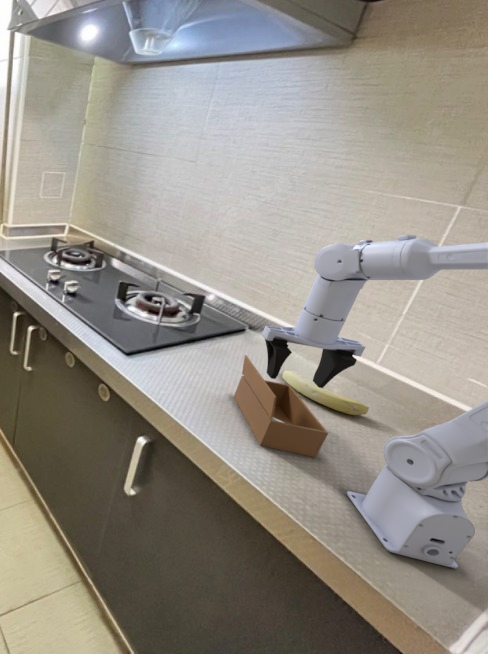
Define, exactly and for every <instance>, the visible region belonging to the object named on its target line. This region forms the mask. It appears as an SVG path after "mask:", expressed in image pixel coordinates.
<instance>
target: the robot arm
mask: <svg viewBox="0 0 488 654" xmlns="http://www.w3.org/2000/svg"><path fill="white" fill-rule="evenodd" d="M313 265H314V269H315V271H316V273H317V274H316V277H315V279H314V281H313V284H312V286H311V288H310V290H309V293H308V295H307V297H306V300H305V303H304V304H303V308H302V310H301V312H300V314H299V317H298V319H297V320H296V321H297V322H296V324H295V326H270V325H265V326H264V328H263V331H262V333H261V336H262V337H263V338H264V341H265V346H266V352H267V365H266V374H267V375H268V377H269V378H270V379H273V380H276V379H277V377H278V376H279V373H280V371H281V369H282V367H283V365H284V364H285V362H286V360H287V359H288V358H289V357H290V355H291V354H293V351H292V350H291V349H290V348H289V344H288V343H290V344H295V345H302V346H307V347H312V348H313V347H314V348H317V349H322V351H321V357H320V361H319V364H318V366H317V368H316V369H315V373H314V375H313V377H312V383H314V384H316V385H317V386H318V387H319V388H324V387H326V386H327V384H329V382H330V381H331V380H333V379H334V378H335V377H336V376H337V375H339V374H341V373H342V372H344V371H346V370H347V369H349V368H351V367H354V366H355V365H356V363H357V361H358V360H357V358H355V357H354V356H356V357H362V355H363V353H364V351H365V349H366V345H364V344H362V343H361V342H360V341H358V340H353V339H349V338H345V337H341V336H339V335H340V333H341V331H342V329H343V326H344V325H345V322H346V320H347V318H348V316H349V315H350V312H351V310H352V308H353V306H354V304H355V301H356V299H357V297H358V295H359V293H360V291H361V290H363V288H364V286H365V284H366V283H367V282H368V281H424V280H428V279H430V278H432V277H433V276H435V275H436V274H437V273H439V272H440V271H443V270H444V271H445V270H447V271H448V270H449V271H451V270H460V271H461V270H488V242H487V241H486V242H478V243H477V242H475V243H465V244H453V245H442V246H439V245H438V244H437V243H434V242H433V241H431V240H429V239H427V238H424V237H420V238H419V237H418V238H417V235H414V234H405V235H398V236H397V239H396V240H385V241H383V240H382V241H373V240H372V239H362V240H359V243H358V244H347V243H341V242H335V243H333V244H328V245H326V246H324V247H322V248H321V249H319V250H318V251H317V253H316V254H315V257H314V261H313ZM382 450H383V451H382V453H383V458H384V461H385V464H384V466H383V467H382V469H381V471H380V472H379V474H378V475H377V477H376V478H375V480H374V482H373V483H372V485H371V487H370V488H369V490H368V491H367V493H366V494H363V493H359V492H355V491H349V490H348V491H346V495H347V497H348V498H349V500H350V501H351V502H352V503H353V505H354V506H355V508H356V510H358V512H359V514H361V516H362V517H363V519H364V520H365V522H366V523H367V525H368V526H369V527H370V529H371V530H372V532H373V533H374V535H375V536H376V537H377V538H378V540H379V542H380V543H381V544H382V545H383V547H384V548H385V549H386V550H387V551H388V552H390V553H392V554H396V555H400V556H404V557H407V558H412V559H417V560H420V561H424V562H427V563H431V564H436V565H440V566H444V567H447V568H451V569H458V568H459V564H458V563H457V562H456V561H455V560H456V559H457V558H458V557H459V555H460V554H461V553H462V552H463V550H464V549H465V548H466V547H467V545H468V544H469V543H470V541H472V539H473V538H474V536H475V534H476V528H475V526H474V523H473V522H472V521H471V519H470V518H469V517H468V514H467V513H466V511H465V509H464V507H463V501H462V499H463V498H464V497H465V493H466V486H467V484H468V483H469V482H470V483H471V482H480V481H484V480H486V479H488V399H486V400H484V401H483V402H481V403H480V404H477V405H476V406H474V407H472V408H471V409H469V410H467V411H466V412H464V413H461V414H460V415H458V416H456V417H455V418H453V419H451V420H449V421H446V422H443V423H440V424H437V425H434V426H431V427H428V428H425V429H423V430H422V431H420V432H418V433H416V434H413V435H396V436H393V437H391V438H389V439H388V440H387V441H386V442H385V443H384V445H383V449H382Z"/></svg>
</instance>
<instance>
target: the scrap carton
mask: <svg viewBox="0 0 488 654" xmlns="http://www.w3.org/2000/svg"><path fill="white" fill-rule="evenodd" d="M264 380H265V382H266V383H267V385H268V386H269V387H270V389H271V390H272V392H273V393H274V394H275V396H276V397H277V398H276V404H275V409H274V414H273V417H274V418H276V419H278V420H280V421H282V422H278V421H273V420H272V419H271V418H270V416H269V414H268V413H267V411H266V410H265V408H264V407H263V405H262V403H261V402H260V400H259V399H258V397H257V396H256V394H255V393H254V391H253V389H252V388H251V386H250V385H249V383H248V382H247V380H246V379H245V377H244V375H242V376H241V377H240V379H239V383H238V385H237V387H236V390H235V392H234V395H233V399H234V401H235V402H236V404H237V406H238V408H239V409H240V412H241V413H242V415H243V417H244V419H245V420H246V423H247V425H248V426H249V428H250V429H251V432H252V433H253V435H254V437H255V439H256V441H257V442H258V444H259V446H263V447H266V448H271V449H276V450H280V451H285V452H290V453H294V454H297V455H298V454H299V455H303V456H308V457H312V458H317V456H318V454H319V452H320V450H321V448H322V447H323V445H324V443H325V440H326V439H327V437H328V435H329V432H328V431H327V430H326V428H325V427H324V426H323V425H322V423H321V422H320V421H319V419H317V417H316V416H315V415H314V413H313V412H312V410H311V409H309V407H308V406H307V405H306V403H305V402H304V401H303V399H301V397H300V396H299V395H298V393H297V391H296V390H295V389H294V388H293V387H291V386H290V385H289V384H288V383H282V382H275V381H271V380H266V379H264ZM283 422H284V423H283Z"/></svg>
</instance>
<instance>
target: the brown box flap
mask: <svg viewBox="0 0 488 654" xmlns="http://www.w3.org/2000/svg"><path fill="white" fill-rule="evenodd" d="M243 358H244V359H243V363H242V364H243V365H242V370H241V371H242V372H241V374H242V376H244V377H245V379H246V380H247V382H248V383H249V385H250V386H251V388H252V389H253V391H254V393H255V394H256V396H257V397H258V399H259V400H260V402H261V403H262V405H263V407H264V408H265V410H266V411H267V413H268V414H269V416H270V417H271V418H273V414H274V409H275V404H276V398H277V397H276V396H275V394H274V393H273V392H272V390H271V389H270V387H269V386H268V385H267V383H266V382H265V380H266V379H264V378H263V376H262V374H261V373H260V372H259V370H258V369H257V368H256V367H255V365H254V364H253V362H252V361H251V360H250V358H249V356H248V355H246V354H244V357H243Z"/></svg>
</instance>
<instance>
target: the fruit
mask: <svg viewBox="0 0 488 654" xmlns="http://www.w3.org/2000/svg"><path fill="white" fill-rule="evenodd" d="M281 377H282V379H283V380H284V382H285V383H286V384H287V385H290V386H291V387H292V389H293V390H294V391H296V392H298V393H299V394H302V395H303V396H305V397H307V398H308V399H311V400H312V401H314V402H316V403H318V404H320V405H323V406H325V407H327V408H330V409H333V410H335V411H338V412H340V413H342V414H346V415H352V416H361V415H362V416H363V415H367V414H368V411H369V409H370V407H369V405H366V404H364V403H362V402H361V401H358V400H356V399H353V398H351V397H348V396H344V395H341V394H339V393H337V392H333V391H331V390H328V389H326V388H324V387H323V388H319V387H318V386H317V385H316V384H315V383H314V382H313V381H311V380H309V379H307V378H305V376H303V375H302V374H299V373H298V372H297V371H294V370H288V369H287V370H283V373H282V375H281Z"/></svg>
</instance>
